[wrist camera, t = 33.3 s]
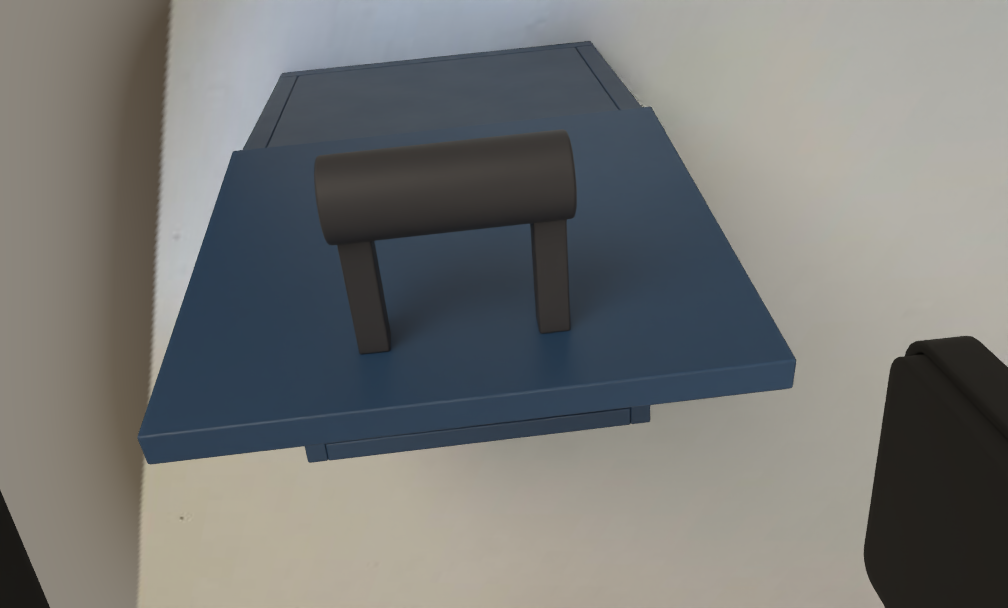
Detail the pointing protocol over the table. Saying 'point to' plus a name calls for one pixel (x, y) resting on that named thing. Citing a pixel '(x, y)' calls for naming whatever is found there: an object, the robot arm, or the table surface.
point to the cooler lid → (455, 289)
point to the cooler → (439, 105)
